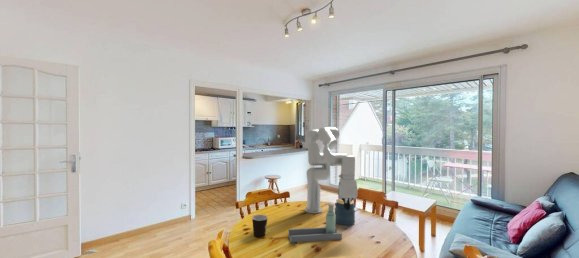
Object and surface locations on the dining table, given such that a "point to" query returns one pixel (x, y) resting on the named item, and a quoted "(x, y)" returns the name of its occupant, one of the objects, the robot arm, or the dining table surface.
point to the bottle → (330, 219)
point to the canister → (344, 213)
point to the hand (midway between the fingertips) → (346, 209)
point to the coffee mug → (259, 225)
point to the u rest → (312, 235)
